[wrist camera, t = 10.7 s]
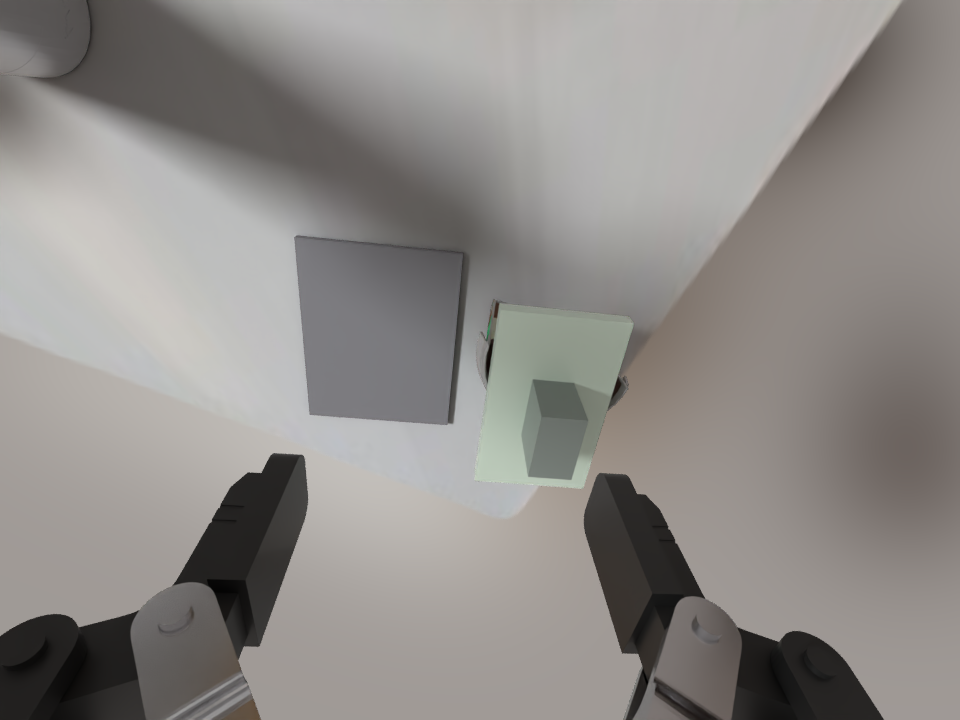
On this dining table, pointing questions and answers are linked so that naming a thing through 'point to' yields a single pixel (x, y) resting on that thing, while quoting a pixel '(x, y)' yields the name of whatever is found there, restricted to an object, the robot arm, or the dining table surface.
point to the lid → (548, 394)
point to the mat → (378, 328)
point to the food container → (486, 349)
